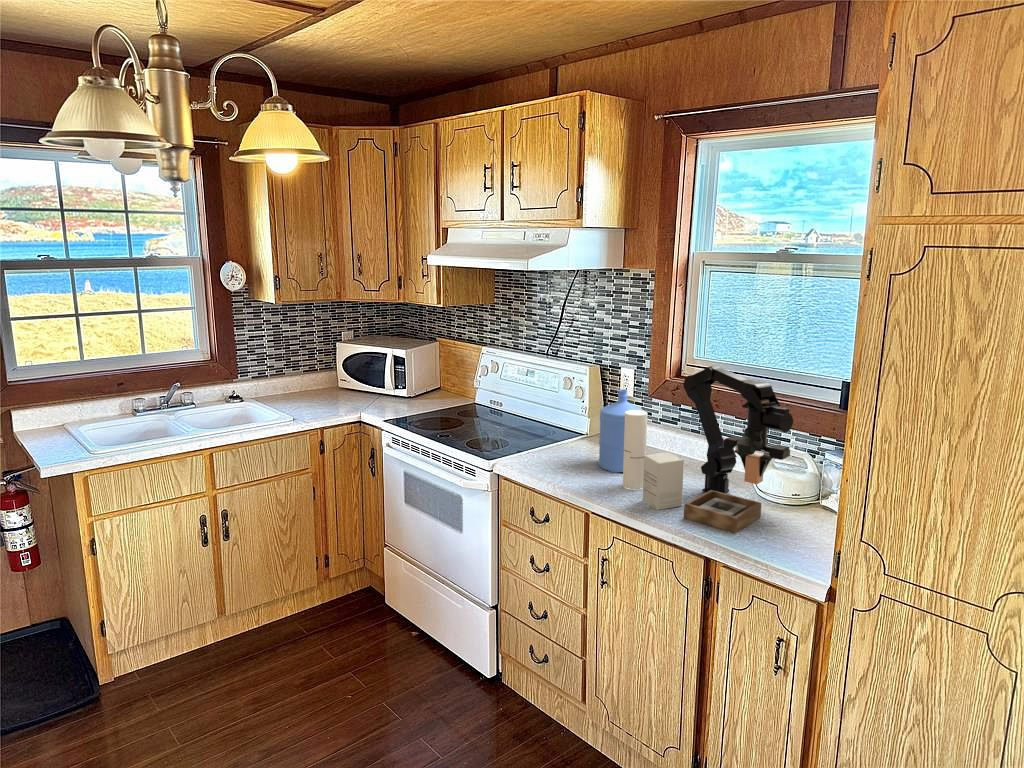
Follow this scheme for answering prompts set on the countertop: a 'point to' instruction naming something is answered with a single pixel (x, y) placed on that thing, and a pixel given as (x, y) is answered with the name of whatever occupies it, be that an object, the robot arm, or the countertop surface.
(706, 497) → the tray
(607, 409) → the water jug
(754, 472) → the block
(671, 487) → the supplement box
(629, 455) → the cylindrical container
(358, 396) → the countertop surface
